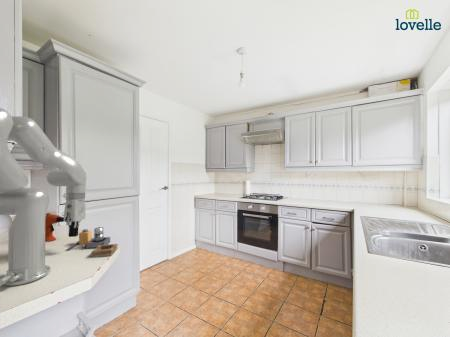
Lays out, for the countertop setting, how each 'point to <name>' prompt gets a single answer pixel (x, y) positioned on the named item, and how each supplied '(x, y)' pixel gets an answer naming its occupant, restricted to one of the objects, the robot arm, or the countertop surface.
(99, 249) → the wooden square tray
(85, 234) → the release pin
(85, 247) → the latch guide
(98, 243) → the socket
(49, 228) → the toy drill
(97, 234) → the silver metal cylinder
